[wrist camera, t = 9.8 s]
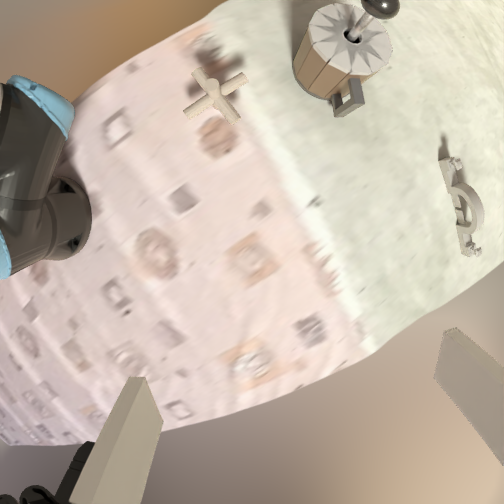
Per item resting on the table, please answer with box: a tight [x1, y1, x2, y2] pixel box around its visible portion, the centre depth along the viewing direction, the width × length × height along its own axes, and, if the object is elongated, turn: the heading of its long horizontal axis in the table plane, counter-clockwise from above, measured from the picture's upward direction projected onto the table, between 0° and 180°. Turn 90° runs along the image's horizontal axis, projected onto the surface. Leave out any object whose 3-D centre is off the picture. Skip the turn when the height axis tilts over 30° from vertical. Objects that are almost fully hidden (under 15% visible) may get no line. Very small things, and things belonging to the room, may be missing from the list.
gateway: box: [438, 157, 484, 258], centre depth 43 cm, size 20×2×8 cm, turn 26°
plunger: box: [345, 0, 400, 43], centre depth 27 cm, size 8×8×22 cm
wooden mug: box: [293, 3, 393, 117], centre depth 34 cm, size 11×14×14 cm
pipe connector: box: [183, 67, 248, 125], centre depth 37 cm, size 10×10×10 cm
